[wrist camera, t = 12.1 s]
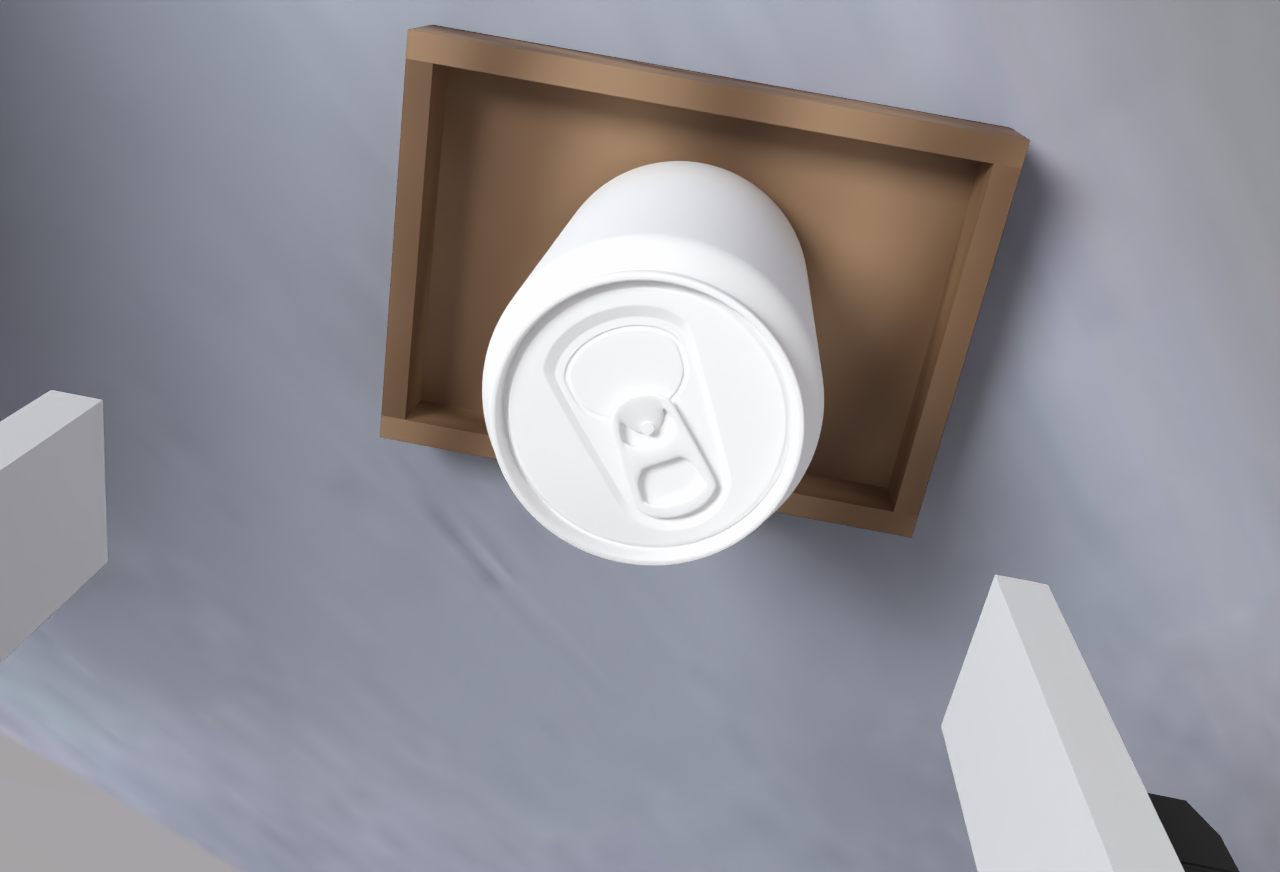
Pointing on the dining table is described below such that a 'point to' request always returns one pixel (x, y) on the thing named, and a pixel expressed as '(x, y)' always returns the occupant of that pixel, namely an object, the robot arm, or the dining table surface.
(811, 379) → the beverage can
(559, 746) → the dining table surface
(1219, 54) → the dining table surface
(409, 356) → the walnut tray
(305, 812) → the dining table surface
